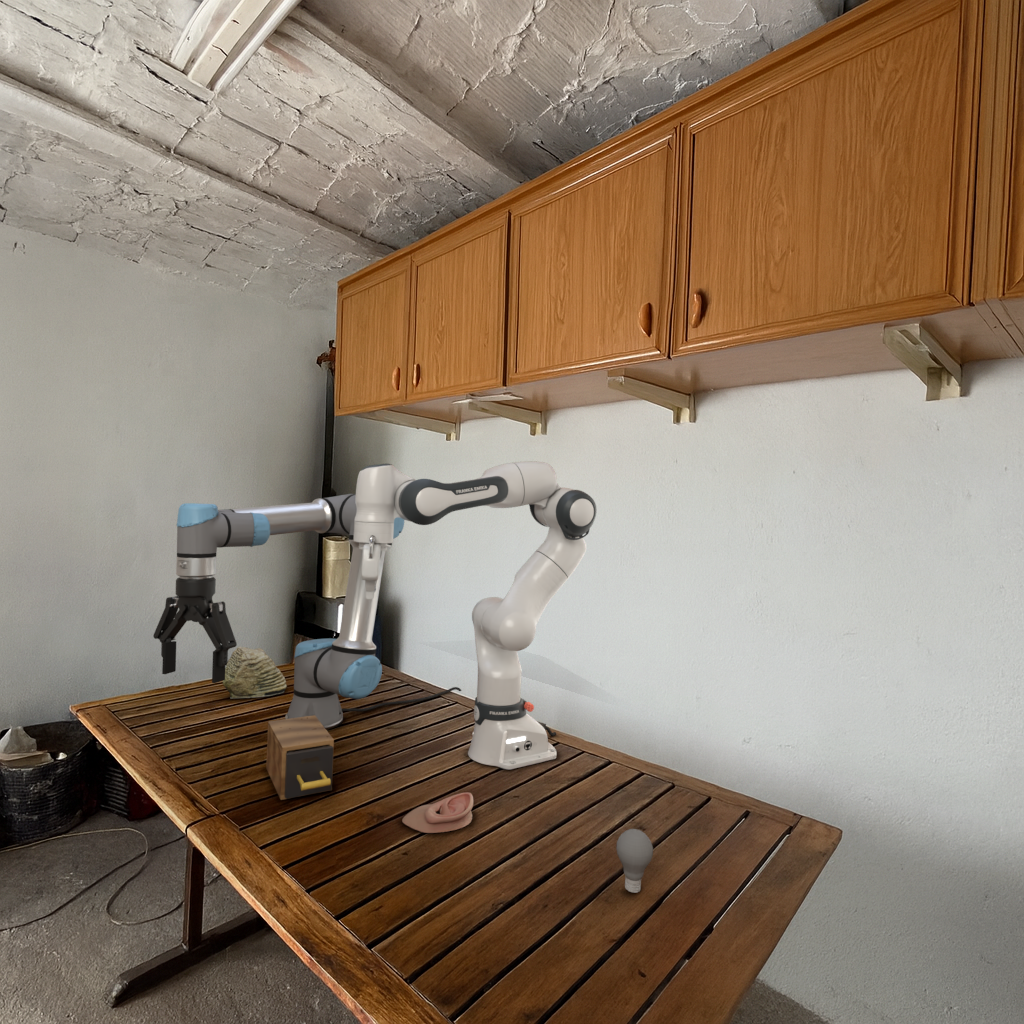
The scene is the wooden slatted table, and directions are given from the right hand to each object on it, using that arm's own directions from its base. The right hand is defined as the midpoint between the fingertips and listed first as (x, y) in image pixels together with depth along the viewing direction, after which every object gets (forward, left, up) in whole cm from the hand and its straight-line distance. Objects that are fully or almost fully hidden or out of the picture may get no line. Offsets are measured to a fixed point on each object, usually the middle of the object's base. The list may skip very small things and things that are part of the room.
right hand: (370, 595), depth 144 cm
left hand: (+36, -4, -17) cm, 40 cm away
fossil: (+23, -67, -41) cm, 82 cm away
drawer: (+13, +3, -40) cm, 43 cm away
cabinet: (+14, -2, -41) cm, 44 cm away
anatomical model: (-11, +24, -41) cm, 49 cm away
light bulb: (-35, +57, -41) cm, 78 cm away
